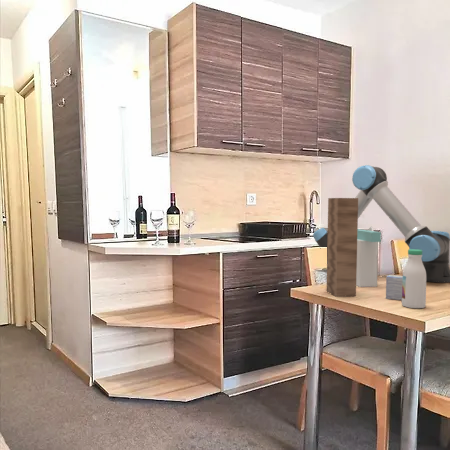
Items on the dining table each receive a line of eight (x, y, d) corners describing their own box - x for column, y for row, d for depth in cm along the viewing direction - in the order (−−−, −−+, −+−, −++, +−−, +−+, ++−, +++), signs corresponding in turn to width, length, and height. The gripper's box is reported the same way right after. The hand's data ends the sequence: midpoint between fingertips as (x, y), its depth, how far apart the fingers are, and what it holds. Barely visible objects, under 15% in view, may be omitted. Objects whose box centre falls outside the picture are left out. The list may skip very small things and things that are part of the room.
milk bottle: (429, 306, 152) (431, 250, 151) (418, 310, 147) (420, 251, 146) (408, 302, 158) (410, 248, 157) (397, 305, 153) (398, 249, 152)
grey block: (349, 282, 197) (350, 238, 196) (366, 282, 198) (367, 238, 197) (359, 286, 187) (360, 240, 186) (377, 286, 188) (378, 240, 187)
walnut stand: (326, 291, 177) (328, 198, 175) (345, 291, 178) (347, 198, 176) (336, 296, 167) (338, 197, 165) (355, 296, 168) (358, 198, 166)
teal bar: (348, 237, 202) (349, 229, 202) (357, 237, 203) (357, 229, 202) (371, 241, 180) (372, 232, 180) (380, 241, 181) (381, 232, 181)
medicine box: (409, 299, 164) (410, 276, 163) (407, 301, 160) (408, 278, 159) (388, 296, 168) (388, 274, 167) (385, 298, 164) (386, 276, 164)
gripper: (366, 255, 216) (385, 236, 197) (318, 255, 212) (333, 236, 193) (362, 241, 219) (382, 221, 200) (315, 241, 215) (330, 221, 196)
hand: (358, 229), depth 197 cm, fingers open, 13 cm apart
